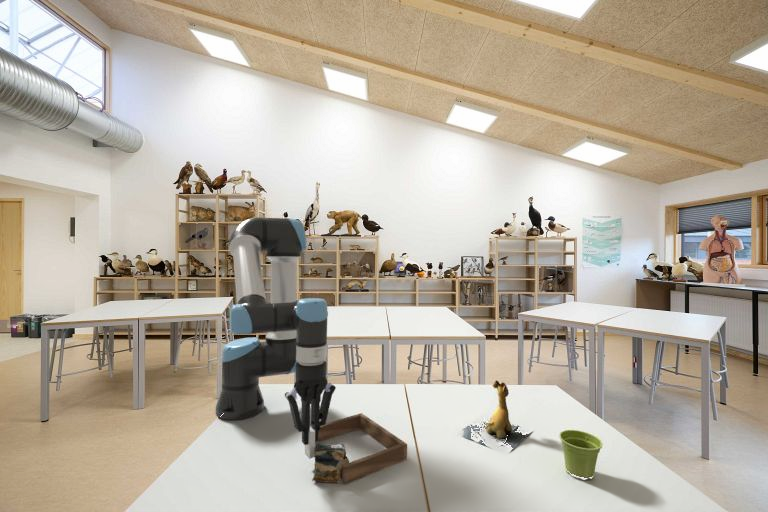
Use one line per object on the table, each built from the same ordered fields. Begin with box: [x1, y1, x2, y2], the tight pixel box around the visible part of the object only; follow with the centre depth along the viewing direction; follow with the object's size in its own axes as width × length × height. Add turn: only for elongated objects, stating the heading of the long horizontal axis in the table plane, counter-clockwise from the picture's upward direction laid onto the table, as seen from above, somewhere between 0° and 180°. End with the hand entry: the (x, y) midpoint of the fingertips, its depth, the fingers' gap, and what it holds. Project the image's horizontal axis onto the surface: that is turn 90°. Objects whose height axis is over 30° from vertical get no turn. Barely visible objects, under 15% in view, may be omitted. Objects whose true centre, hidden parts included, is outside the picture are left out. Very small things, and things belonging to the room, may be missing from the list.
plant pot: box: [558, 429, 603, 478], centre depth 93 cm, size 9×9×9 cm
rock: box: [311, 443, 350, 484], centre depth 92 cm, size 9×9×6 cm
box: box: [315, 412, 408, 485], centre depth 101 cm, size 22×19×4 cm
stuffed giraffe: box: [461, 380, 529, 449], centre depth 113 cm, size 16×18×16 cm
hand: (309, 455), depth 94 cm, fingers closed
